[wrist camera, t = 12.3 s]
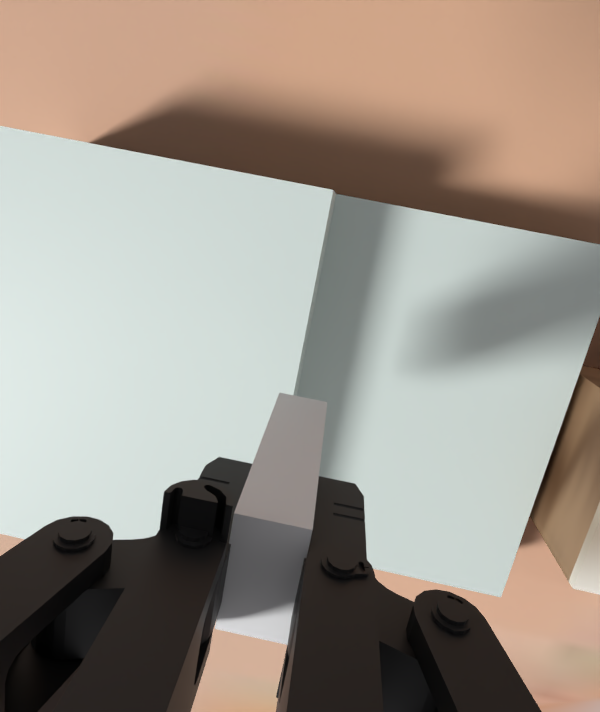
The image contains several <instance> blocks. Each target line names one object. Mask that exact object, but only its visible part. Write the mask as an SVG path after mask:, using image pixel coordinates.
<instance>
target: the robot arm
mask: <svg viewBox="0 0 600 712" xmlns="http://www.w3.org/2000/svg"><path fill="white" fill-rule="evenodd" d="M326 410H327V402H324V401H319V400H314V399H309V398H304V397H299V396H294V395H289V394H284V393H279V395H278V398H277V400H276V403H275V406H274V408H273V411H272V413H271V416H270V419H269V421H268V424H267V427H266V429H265V432H264V435H263V437H262V440H261V443H260V445H259V448H258V451H257V453H256V456H255V459H254V461H253V464H251V463H246V462H242V461H237V460H232V459H227V458H222V457H218V458H216V459H215V460H213V461H211V462H210V463H208V464H207V465H206V466H205V467H204V469H203V471H202V473H201V475H200V477H199V478H198V480H187V481H181V482H178V483H175V484H173V485H171V486H170V487H168V488H167V489H166V490H165V491H164V495H163V504H162V512H161V521H160V529H159V531H158V533H157V534H156V535H155V536H152V537H148V538H144V539H131V540H113V532H112V530H111V528H110V527H109V525H107V524H106V523H104V522H103V521H101V520H100V519H95V518H91V517H87V516H72V517H67V518H63V519H58V520H56V521H54V522H52V523H50V524H48V525H46V526H44V527H43V528H41V529H40V530H38V531H37V532H35V533H34V534H32V535H31V536H29V537H28V538H26V539H25V540H23V541H22V542H21V543H19V544H18V545H16V546H15V547H13V548H12V549H10V550H9V551H7V552H6V553H4V554H3V555H1V556H0V712H191V708H192V705H193V702H194V699H195V696H196V692H197V689H198V686H199V683H200V679H201V676H202V673H203V670H204V667H205V663H206V660H207V657H208V654H209V650H210V644H211V638H212V632H213V628H214V625H215V622H216V626H215V629H218V630H223V631H227V632H232V633H236V634H241V635H245V636H250V637H254V638H259V639H263V640H268V641H273V642H277V643H282V644H286V645H287V650H286V654H285V659H284V664H283V668H282V673H281V677H280V682H279V687H278V691H277V696H276V698H278V702H277V709H276V712H541V710H540V708H539V707H538V705H537V703H536V702H535V700H534V699H533V697H532V695H531V694H530V692H529V690H528V689H527V687H526V685H525V684H524V682H523V680H522V679H521V677H520V675H519V674H518V672H517V670H516V669H515V667H514V665H513V664H512V662H511V660H510V659H509V657H508V655H507V654H506V652H505V650H504V649H503V647H502V645H501V644H500V642H499V640H498V639H497V637H496V636H495V634H494V632H493V631H492V629H491V627H490V626H489V624H488V622H487V621H486V619H485V618H484V616H483V615H482V614H481V613H480V612H479V610H478V609H477V608H476V607H475V606H473V605H472V604H471V603H469V602H468V601H467V600H465V599H464V598H462V597H460V596H457V595H455V594H453V593H451V592H447V591H441V590H429V591H424V592H422V593H421V594H419V595H418V596H416V599H415V602H413V601H411V600H408V599H406V598H404V597H402V596H400V595H398V594H396V593H394V592H392V591H390V590H389V589H387V588H386V587H384V586H383V585H382V584H381V583H379V582H378V581H377V579H376V578H375V574H374V571H373V568H372V565H371V564H370V563H369V562H368V560H367V552H366V531H365V511H364V496H363V494H362V493H361V491H360V490H359V488H358V487H357V485H356V484H355V483H350V482H345V481H340V480H335V479H331V478H326V477H321V476H319V470H320V462H321V453H322V444H323V436H324V427H325V418H326ZM216 619H217V620H216Z"/></svg>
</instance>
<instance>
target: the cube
mask: <svg viewBox="0 0 600 712" xmlns="http://www.w3.org/2000/svg"><path fill="white" fill-rule="evenodd" d="M530 517H531V518H532V520H533V522H534V523H535V525H536V527H537V529H538V530H539V532H540V534H541V535H542V537H543V539H544V540H545V542H546V544H547V546H548V547H549V549H550V551H551V552H552V554H553V556H554V557H555V559H556V561H557V563H558V564H559V566H560V568H561V569H562V571H563V573H564V574H565V576H566V578H567V580H568V581H569V583H570V585H571V586H572V588H573V589H577V590H582V591H586V592H591V593H595V594H599V595H600V369H596V368H592V367H587V366H582V368H581V371H580V374H579V377H578V379H577V382H576V385H575V388H574V391H573V394H572V396H571V399H570V402H569V405H568V408H567V411H566V414H565V416H564V419H563V422H562V425H561V428H560V431H559V433H558V436H557V439H556V442H555V445H554V448H553V451H552V453H551V456H550V459H549V462H548V465H547V468H546V470H545V473H544V476H543V479H542V482H541V485H540V488H539V490H538V493H537V496H536V499H535V502H534V505H533V507H532V510H531V513H530Z"/></svg>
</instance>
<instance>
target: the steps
mask: <svg viewBox="0 0 600 712" xmlns="http://www.w3.org/2000/svg"><path fill="white" fill-rule="evenodd" d="M599 317H600V244H595V243H590V242H584V241H579V240H574V239H569V238H564V237H558V236H553V235H548V234H543V233H538V232H532V231H527V230H522V229H517V228H512V227H506V226H501V225H496V224H491V223H486V222H480V221H475V220H470V219H465V218H459V217H454V216H449V215H444V214H439V213H433V212H428V211H423V210H418V209H413V208H407V207H402V206H397V205H392V204H387V203H381V202H376V201H371V200H366V199H361V198H355V197H350V196H345V195H340V194H336V193H335V191H334V190H331V189H326V188H321V187H316V186H311V185H305V184H300V183H295V182H290V181H285V180H279V179H274V178H269V177H264V176H258V175H253V174H248V173H243V172H238V171H232V170H227V169H222V168H217V167H212V166H206V165H201V164H196V163H191V162H186V161H180V160H175V159H170V158H165V157H159V156H154V155H149V154H144V153H139V152H133V151H128V150H123V149H118V148H113V147H107V146H102V145H97V144H92V143H87V142H81V141H76V140H71V139H66V138H60V137H55V136H50V135H45V134H40V133H34V132H29V131H24V130H19V129H14V128H8V127H3V126H0V534H4V535H9V536H13V537H17V538H22V539H26V538H28V537H29V536H31V535H32V534H34V533H35V532H37V531H38V530H40V529H41V528H43V527H44V526H46V525H48V524H50V523H52V522H54V521H56V520H58V519H63V518H67V517H72V516H87V517H91V518H95V519H100V520H101V521H103V522H104V523H106V524H107V525H109V527H110V528H111V530H112V532H113V540H131V539H144V538H148V537H152V536H155V535H156V534H157V533H158V531H159V529H160V521H161V512H162V504H163V495H164V491H165V490H166V489H167V488H168V487H170V486H171V485H173V484H175V483H178V482H181V481H187V480H198V478H199V477H200V475H201V473H202V471H203V469H204V467H205V466H206V465H207V464H208V463H210V462H211V461H213V460H215V459H216V458H218V457H222V458H227V459H232V460H237V461H242V462H246V463H251V464H253V461H254V459H255V456H256V453H257V451H258V448H259V445H260V443H261V440H262V437H263V435H264V432H265V429H266V427H267V424H268V421H269V419H270V416H271V413H272V411H273V408H274V406H275V403H276V400H277V398H278V395H279V393H284V394H289V395H294V396H299V397H304V398H309V399H314V400H319V401H324V402H327V410H326V418H325V427H324V436H323V444H322V453H321V462H320V470H319V476H321V477H326V478H331V479H335V480H340V481H345V482H350V483H355V484H356V485H357V487H358V488H359V490H360V491H361V493H362V494H363V496H364V511H365V531H366V552H367V560H368V562H369V563H370V564H371V565H372V568H373V569H377V570H382V571H386V572H391V573H395V574H399V575H404V576H408V577H413V578H417V579H422V580H426V581H431V582H435V583H439V584H444V585H448V586H453V587H457V588H462V589H466V590H471V591H475V592H480V593H484V594H488V595H493V596H497V597H501V596H502V593H503V590H504V587H505V584H506V581H507V579H508V576H509V573H510V570H511V567H512V564H513V561H514V559H515V556H516V553H517V550H518V547H519V544H520V542H521V539H522V536H523V533H524V530H525V527H526V524H527V522H528V519H529V516H530V513H531V510H532V507H533V505H534V502H535V499H536V496H537V493H538V490H539V488H540V485H541V482H542V479H543V476H544V473H545V470H546V468H547V465H548V462H549V459H550V456H551V453H552V451H553V448H554V445H555V442H556V439H557V436H558V433H559V431H560V428H561V425H562V422H563V419H564V416H565V414H566V411H567V408H568V405H569V402H570V399H571V396H572V394H573V391H574V388H575V385H576V382H577V379H578V377H579V374H580V371H581V368H582V365H583V362H584V359H585V357H586V354H587V351H588V348H589V345H590V342H591V340H592V337H593V334H594V331H595V328H596V325H597V322H598V320H599Z"/></svg>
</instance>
